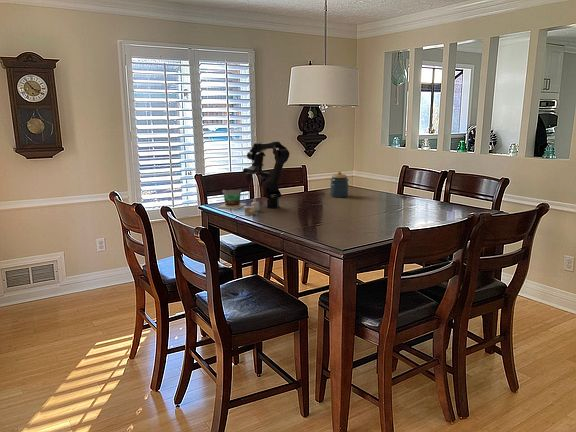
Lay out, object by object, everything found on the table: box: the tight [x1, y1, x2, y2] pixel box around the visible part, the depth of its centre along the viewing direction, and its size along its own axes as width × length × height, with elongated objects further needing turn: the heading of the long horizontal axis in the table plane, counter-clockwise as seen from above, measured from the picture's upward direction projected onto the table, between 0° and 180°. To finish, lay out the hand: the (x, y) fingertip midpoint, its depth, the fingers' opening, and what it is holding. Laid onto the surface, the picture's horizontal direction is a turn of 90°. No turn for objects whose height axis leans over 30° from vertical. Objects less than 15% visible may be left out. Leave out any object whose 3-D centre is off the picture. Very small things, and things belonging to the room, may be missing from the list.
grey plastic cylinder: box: [250, 201, 260, 213], centre depth 284 cm, size 5×5×5 cm
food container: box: [221, 188, 242, 206], centre depth 296 cm, size 12×6×10 cm, turn 100°
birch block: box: [244, 205, 256, 216], centre depth 273 cm, size 4×4×4 cm
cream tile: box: [217, 202, 247, 210], centre depth 298 cm, size 13×14×1 cm
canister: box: [329, 171, 349, 198], centre depth 331 cm, size 13×13×18 cm
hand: (255, 185), depth 304 cm, fingers open, 9 cm apart
